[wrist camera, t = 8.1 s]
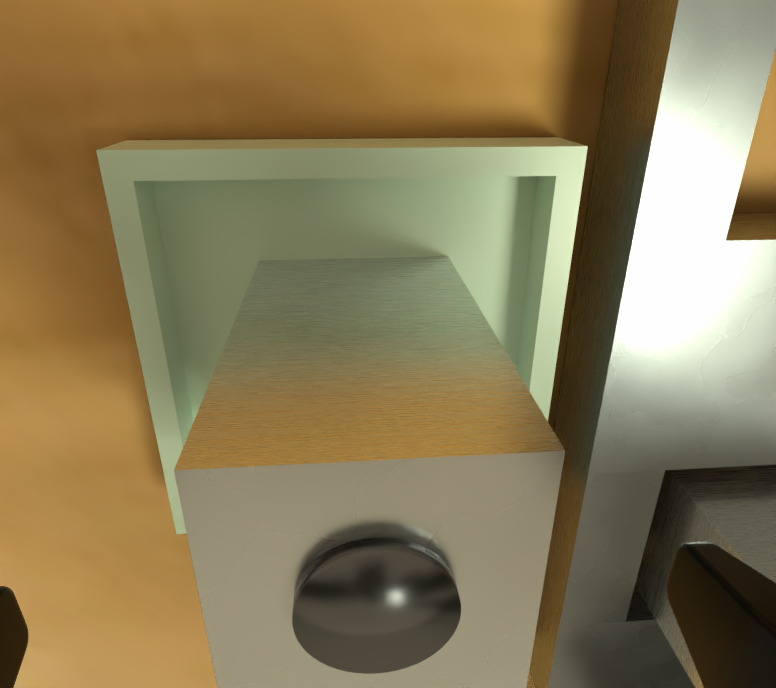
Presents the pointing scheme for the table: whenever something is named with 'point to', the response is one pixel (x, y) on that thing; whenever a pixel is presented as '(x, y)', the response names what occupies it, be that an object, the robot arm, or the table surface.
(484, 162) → the tray
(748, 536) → the nut
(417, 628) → the nut
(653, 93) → the grey socket board
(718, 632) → the robot arm
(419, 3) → the table surface
